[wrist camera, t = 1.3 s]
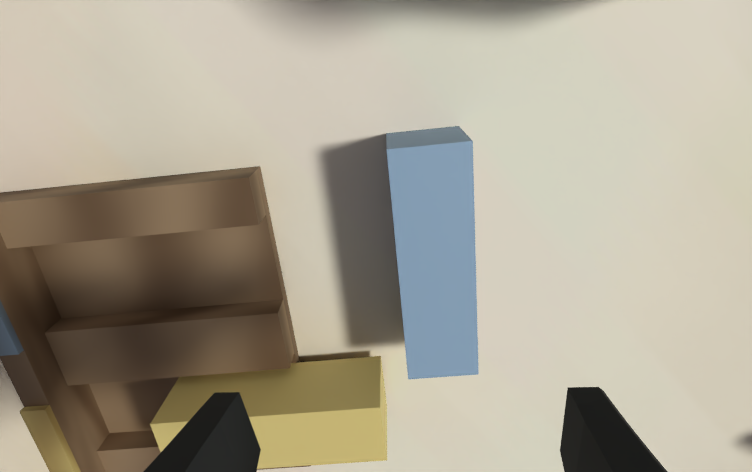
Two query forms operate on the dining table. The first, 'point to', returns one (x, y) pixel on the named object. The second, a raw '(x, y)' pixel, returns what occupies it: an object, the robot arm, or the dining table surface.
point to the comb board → (134, 305)
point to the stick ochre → (295, 410)
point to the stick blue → (435, 249)
